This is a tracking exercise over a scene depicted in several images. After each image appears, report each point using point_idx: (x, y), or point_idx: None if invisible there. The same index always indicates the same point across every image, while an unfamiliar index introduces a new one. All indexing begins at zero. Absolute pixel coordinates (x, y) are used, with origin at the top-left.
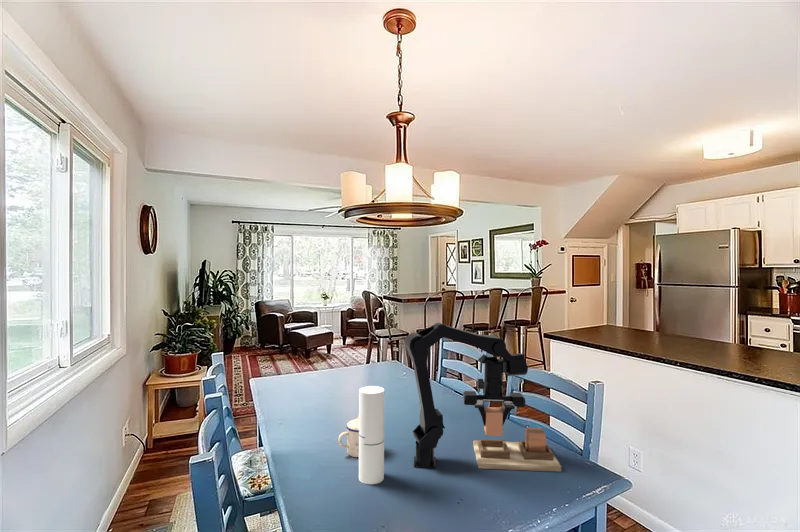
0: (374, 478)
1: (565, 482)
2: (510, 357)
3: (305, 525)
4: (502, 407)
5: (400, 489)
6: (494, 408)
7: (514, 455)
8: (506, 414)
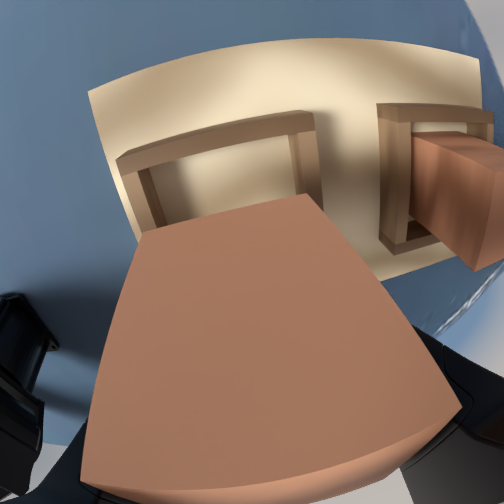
0: None
1: (437, 295)
2: None
3: (49, 443)
4: (465, 451)
5: (66, 408)
6: (318, 482)
7: (343, 213)
8: None
